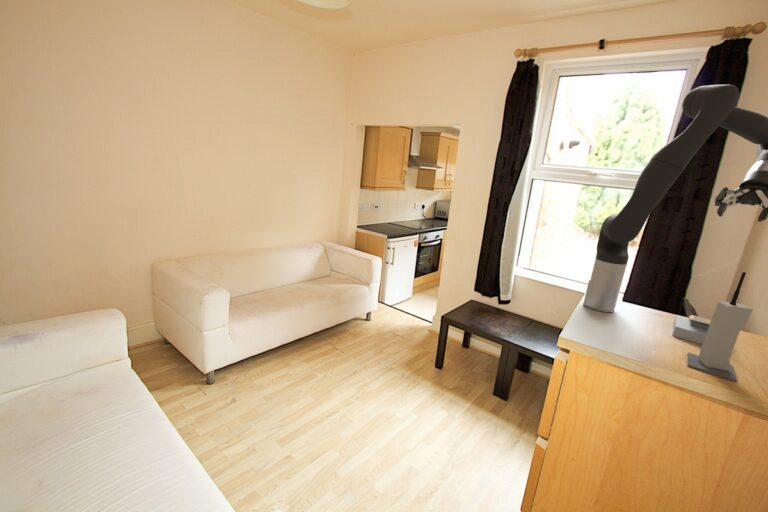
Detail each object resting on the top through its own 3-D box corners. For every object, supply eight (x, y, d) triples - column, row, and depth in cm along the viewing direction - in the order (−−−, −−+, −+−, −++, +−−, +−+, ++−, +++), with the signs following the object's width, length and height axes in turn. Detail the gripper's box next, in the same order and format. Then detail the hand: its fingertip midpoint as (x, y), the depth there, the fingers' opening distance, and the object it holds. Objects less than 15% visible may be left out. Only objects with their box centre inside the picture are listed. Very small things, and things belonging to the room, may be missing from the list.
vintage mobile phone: (729, 371, 87) (766, 276, 81) (706, 367, 88) (740, 272, 82) (719, 364, 90) (753, 271, 84) (697, 360, 91) (729, 268, 85)
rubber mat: (687, 366, 89) (688, 364, 89) (687, 353, 96) (688, 352, 95) (736, 382, 83) (737, 380, 83) (732, 367, 90) (733, 366, 90)
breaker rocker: (692, 319, 104) (693, 315, 103) (688, 318, 113) (689, 315, 113) (717, 325, 100) (719, 321, 100) (711, 324, 110) (713, 321, 110)
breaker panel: (672, 335, 107) (676, 322, 106) (673, 323, 116) (677, 310, 115) (725, 350, 99) (731, 336, 98) (722, 336, 109) (726, 323, 108)
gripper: (730, 168, 109) (708, 204, 106) (798, 171, 98) (776, 212, 95) (729, 185, 114) (707, 221, 110) (794, 190, 103) (772, 230, 99)
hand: (739, 217), depth 102 cm, fingers open, 8 cm apart
